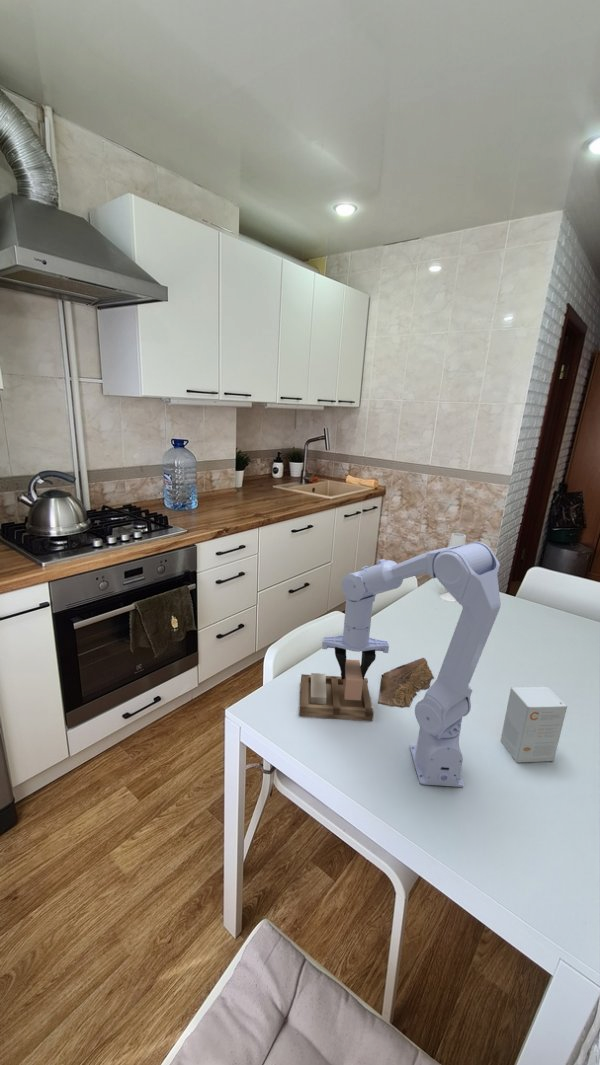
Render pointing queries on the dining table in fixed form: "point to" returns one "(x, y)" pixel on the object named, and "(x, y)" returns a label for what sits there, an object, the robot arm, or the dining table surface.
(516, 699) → the small box
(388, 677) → the wooden fragment
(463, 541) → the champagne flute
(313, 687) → the rack
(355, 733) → the dining table surface
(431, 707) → the robot arm
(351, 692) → the clay bar
